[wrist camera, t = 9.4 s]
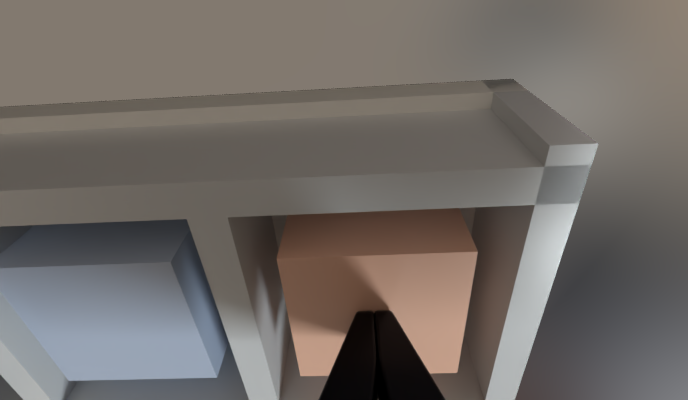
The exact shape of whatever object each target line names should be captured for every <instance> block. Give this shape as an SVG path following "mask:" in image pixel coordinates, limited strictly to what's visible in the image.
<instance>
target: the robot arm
mask: <svg viewBox="0 0 688 400" xmlns="http://www.w3.org/2000/svg"><path fill="white" fill-rule="evenodd" d="M318 400H446V399H445V398H444V396H443V394H442V393H441V391H440V389H439V388H438V386H437V385H436V383H435V381H434V380H433V378H432V376H431V375H430V373H429V371H428V370H427V368H426V366H425V365H424V363H423V361H422V360H421V358H420V356H419V355H418V353H417V352H416V350H415V348H414V347H413V345H412V343H411V342H410V340H409V338H408V337H407V335H406V333H405V332H404V330H403V328H402V327H401V325H400V323H399V322H398V320H397V319H396V317H395V315H394V314H393V312H392V311H390V310H377V311H375V313H373V311H358V312H356V314H355V316H354V318H353V321H352V323H351V325H350V328H349V330H348V332H347V334H346V337H345V339H344V341H343V344H342V346H341V348H340V351H339V353H338V355H337V358H336V360H335V362H334V365H333V367H332V369H331V372H330V374H329V376H328V379H327V381H326V383H325V386H324V388H323V390H322V392H321V395H320V397H319V399H318Z"/></svg>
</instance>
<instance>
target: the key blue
mask: <svg viewBox="0 0 688 400" xmlns="http://www.w3.org/2000/svg"><path fill="white" fill-rule="evenodd" d="M0 292H1V293H2V294H3V296H4V297H5V298H6V300H7V301H8V302H9V303H10V305H11V306H12V307H13V309H14V310H15V311H16V313H17V314H18V315H19V317H20V318H21V319H22V320H23V322H24V323H25V324H26V326H27V327H28V328H29V330H30V331H31V332H32V334H33V335H34V336H35V337H36V339H37V340H38V341H39V343H40V344H41V345H42V347H43V348H44V349H45V350H46V352H47V353H48V354H49V356H50V357H51V358H52V360H53V361H54V362H55V364H56V365H57V366H58V367H59V369H60V370H61V371H62V373H63V374H64V375H65V377H66V378H67V379H68V380H69V381H88V380H135V379H181V378H217V377H218V373H219V370H220V367H221V364H222V361H223V358H224V354H225V351H226V348H227V345H228V342H229V340H228V337H227V335H226V332H225V329H224V326H223V323H222V320H221V317H220V314H219V311H218V309H217V306H216V303H215V300H214V297H213V294H212V291H211V288H210V285H209V283H208V280H207V277H206V274H205V271H204V268H203V265H202V262H201V259H200V257H199V254H198V251H197V248H196V245H195V242H194V239H193V236H192V233H191V231H190V228H189V225H188V222H187V219H175V220H150V221H126V222H101V223H76V224H51V225H34V226H33V227H32V228H30V229H29V230H28V231H27V232H26V233H25V234H23V235H22V236H21V237H20V238H19V239H17V240H16V241H15V242H14V243H13V244H12V245H10V246H9V247H8V248H7V249H6V250H4V251H3V252H2V253H1V254H0Z"/></svg>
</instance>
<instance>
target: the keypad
mask: <svg viewBox="0 0 688 400" xmlns="http://www.w3.org/2000/svg"><path fill="white" fill-rule="evenodd" d="M597 147H598V143H597V142H596V141H595V140H593V139H592V138H591V137H589V136H588V135H587V134H585V133H584V132H582V131H581V130H580V129H579V128H577V127H576V126H575V125H573V124H572V123H571V122H569V121H568V120H567V119H565V118H564V117H563V116H561V115H560V114H559V113H557V112H556V111H555V110H553V109H552V108H551V107H549V106H548V105H547V104H546V103H544V102H543V101H542V100H540V99H539V98H537V97H536V96H535V95H533V94H532V93H531V92H530V91H528V90H527V89H525V88H524V87H523V86H522V85H520V84H519V83H518V82H516V81H515V80H514V79H502V80H484V81H467V82H466V81H465V82H447V83H429V84H410V85H392V86H374V87H356V88H337V89H321V90H320V89H319V90H301V91H282V92H265V93H246V94H229V95H210V96H191V97H175V98H174V97H173V98H154V99H136V100H118V101H101V102H100V101H99V102H83V103H82V102H81V103H63V104H46V105H27V106H9V107H0V254H1V253H2V252H3V251H4V250H6V249H7V248H8V247H9V246H10V245H12V244H13V243H14V242H15V241H16V240H17V239H19V238H20V237H21V236H22V235H23V234H25V233H26V232H27V231H28V230H29V229H30V228H32V227H33V226H34V225H51V224H76V223H101V222H126V221H150V220H175V219H187V222H188V225H189V228H190V231H191V233H192V236H193V239H194V242H195V245H196V248H197V251H198V254H199V257H200V259H201V262H202V265H203V268H204V271H205V274H206V277H207V280H208V283H209V285H210V288H211V291H212V294H213V297H214V300H215V303H216V306H217V309H218V311H219V314H220V317H221V320H222V323H223V326H224V329H225V332H226V335H227V337H228V340H229V342H228V345H227V348H226V351H225V354H224V358H223V361H222V364H221V367H220V370H219V373H218V377H217V378H181V379H135V380H88V381H69V380H68V379H67V378H66V377H65V375H64V374H63V373H62V371H61V370H60V369H59V367H58V366H57V365H56V364H55V362H54V361H53V360H52V358H51V357H50V356H49V354H48V353H47V352H46V350H45V349H44V348H43V347H42V345H41V344H40V343H39V341H38V340H37V339H36V337H35V336H34V335H33V334H32V332H31V331H30V330H29V328H28V327H27V326H26V324H25V323H24V322H23V320H22V319H21V318H20V317H19V315H18V314H17V313H16V311H15V310H14V309H13V307H12V306H11V305H10V303H9V302H8V301H7V300H6V298H5V297H4V296H3V294H2V293H1V292H0V400H318V399H319V397H320V395H321V392H322V390H323V388H324V386H325V383H326V381H327V379H328V376H300V371H299V366H298V362H297V357H296V352H295V347H294V342H293V337H292V332H291V327H290V322H289V317H288V312H287V307H286V303H285V298H284V293H283V288H282V283H281V278H280V273H279V268H278V263H277V255H278V251H279V247H280V243H281V239H282V235H283V231H284V227H285V222H286V218H287V215H299V214H324V213H349V212H374V211H398V210H423V209H448V208H459V209H460V211H461V214H462V216H463V218H464V221H465V223H466V225H467V227H468V230H469V232H470V234H471V237H472V239H473V241H474V244H475V246H476V248H477V251H478V255H477V261H476V266H475V272H474V278H473V284H472V290H471V296H470V302H469V307H468V313H467V319H466V325H465V331H464V337H463V342H462V348H461V354H460V360H459V366H458V372H457V373H431V374H430V375H431V376H432V378H433V380H434V381H435V383H436V385H437V386H438V388H439V389H440V391H441V393H442V394H443V396H444V398H445V399H446V400H515V397H516V394H517V391H518V388H519V385H520V382H521V379H522V375H523V373H524V370H525V366H526V363H527V360H528V357H529V354H530V351H531V348H532V345H533V342H534V339H535V336H536V333H537V330H538V327H539V324H540V321H541V318H542V315H543V312H544V308H545V305H546V302H547V299H548V296H549V293H550V290H551V287H552V284H553V280H554V278H555V275H556V272H557V268H558V266H559V263H560V260H561V257H562V254H563V250H564V247H565V244H566V241H567V238H568V235H569V232H570V229H571V226H572V223H573V220H574V217H575V214H576V211H577V208H578V204H579V202H580V198H581V195H582V193H583V189H584V186H585V183H586V180H587V177H588V174H589V171H590V168H591V165H592V161H593V159H594V156H595V153H596V150H597Z"/></svg>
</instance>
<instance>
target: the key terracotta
mask: <svg viewBox="0 0 688 400" xmlns="http://www.w3.org/2000/svg"><path fill="white" fill-rule="evenodd" d="M477 255H478V251H477V248H476V246H475V244H474V241H473V239H472V237H471V234H470V232H469V230H468V227H467V225H466V223H465V221H464V218H463V216H462V214H461V211H460V209H459V208H448V209H423V210H398V211H374V212H349V213H324V214H299V215H287V218H286V222H285V227H284V231H283V235H282V239H281V243H280V247H279V251H278V255H277V263H278V268H279V273H280V278H281V283H282V288H283V293H284V298H285V303H286V307H287V312H288V317H289V322H290V327H291V332H292V337H293V342H294V347H295V352H296V357H297V362H298V366H299V371H300V376H329V374H330V372H331V369H332V367H333V365H334V362H335V360H336V358H337V355H338V353H339V351H340V348H341V346H342V344H343V341H344V339H345V337H346V334H347V332H348V330H349V328H350V325H351V323H352V321H353V318H354V316H355V314H356V312H358V311H373V313H375V311H377V310H390V311H392V312H393V314H394V315H395V317H396V319H397V320H398V322H399V323H400V325H401V327H402V328H403V330H404V332H405V333H406V335H407V337H408V338H409V340H410V342H411V343H412V345H413V347H414V348H415V350H416V352H417V353H418V355H419V356H420V358H421V360H422V361H423V363H424V365H425V366H426V368H427V370H428V371H429V373H430V374H431V373H457V372H458V366H459V360H460V354H461V348H462V342H463V337H464V331H465V325H466V319H467V313H468V307H469V302H470V296H471V290H472V284H473V278H474V272H475V266H476V261H477Z"/></svg>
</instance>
